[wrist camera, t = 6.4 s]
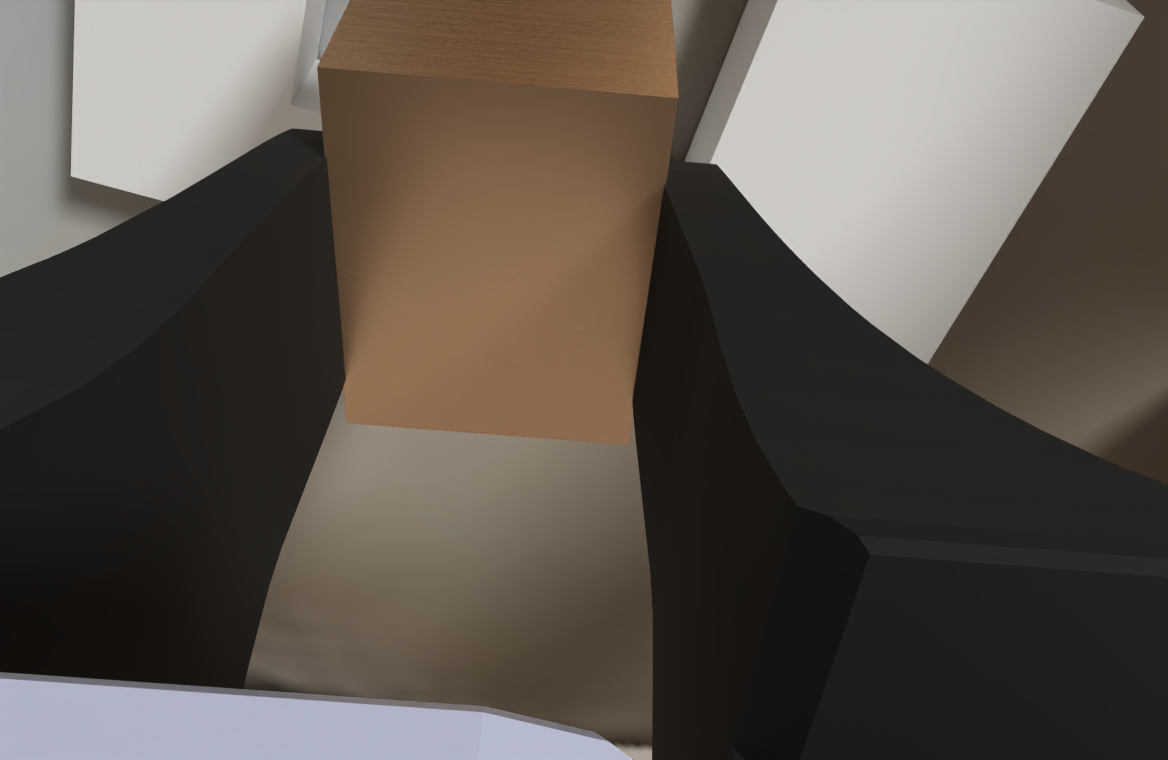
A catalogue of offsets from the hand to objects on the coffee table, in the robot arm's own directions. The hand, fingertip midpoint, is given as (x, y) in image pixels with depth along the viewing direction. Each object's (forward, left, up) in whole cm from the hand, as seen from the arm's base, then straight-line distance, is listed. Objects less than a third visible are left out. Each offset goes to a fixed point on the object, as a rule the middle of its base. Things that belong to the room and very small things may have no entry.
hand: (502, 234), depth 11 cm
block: (0, 0, -4) cm, 4 cm away
